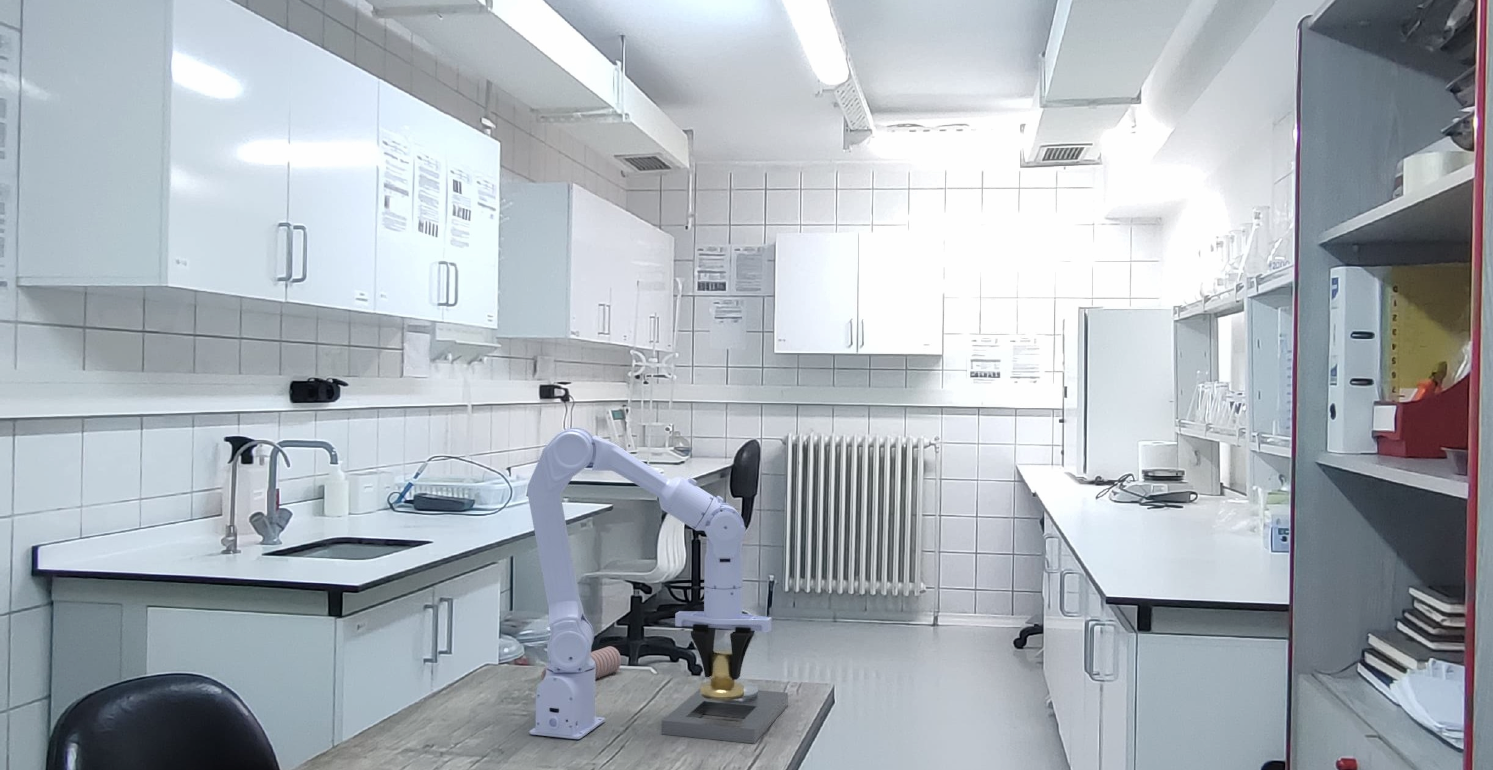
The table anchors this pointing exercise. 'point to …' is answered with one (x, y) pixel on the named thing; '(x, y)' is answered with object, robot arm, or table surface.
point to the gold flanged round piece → (722, 679)
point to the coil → (602, 662)
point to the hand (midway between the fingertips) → (722, 676)
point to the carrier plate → (752, 707)
